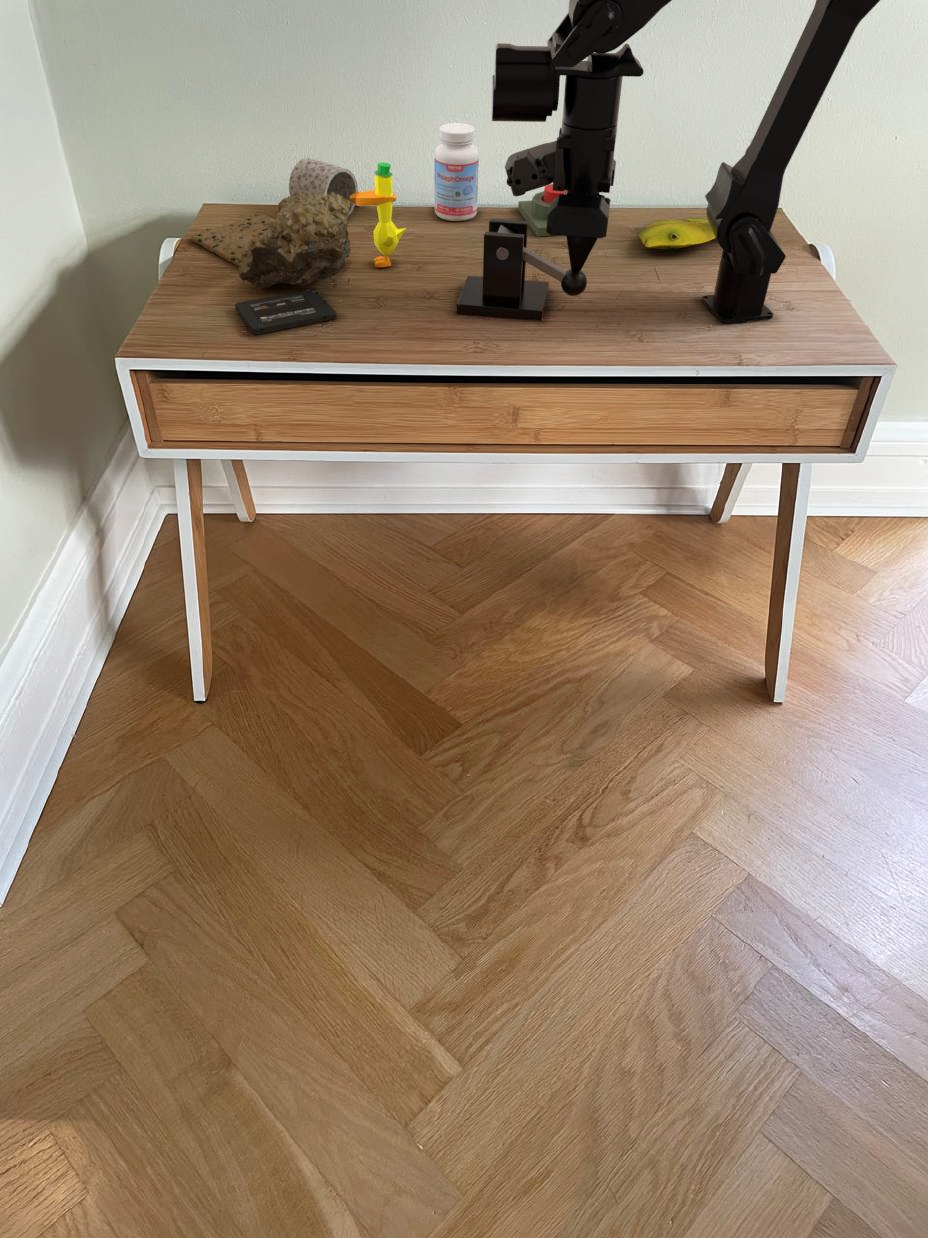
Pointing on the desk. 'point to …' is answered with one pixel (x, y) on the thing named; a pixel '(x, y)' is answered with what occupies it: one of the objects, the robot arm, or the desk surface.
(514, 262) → the bracket
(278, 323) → the solid state drive
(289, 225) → the mineral specimen
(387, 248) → the toy figure
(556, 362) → the desk surface
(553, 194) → the button
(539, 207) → the button block
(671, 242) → the fish
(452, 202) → the pill bottle
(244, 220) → the cookie
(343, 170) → the speckled mug
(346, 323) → the desk surface
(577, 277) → the lever
